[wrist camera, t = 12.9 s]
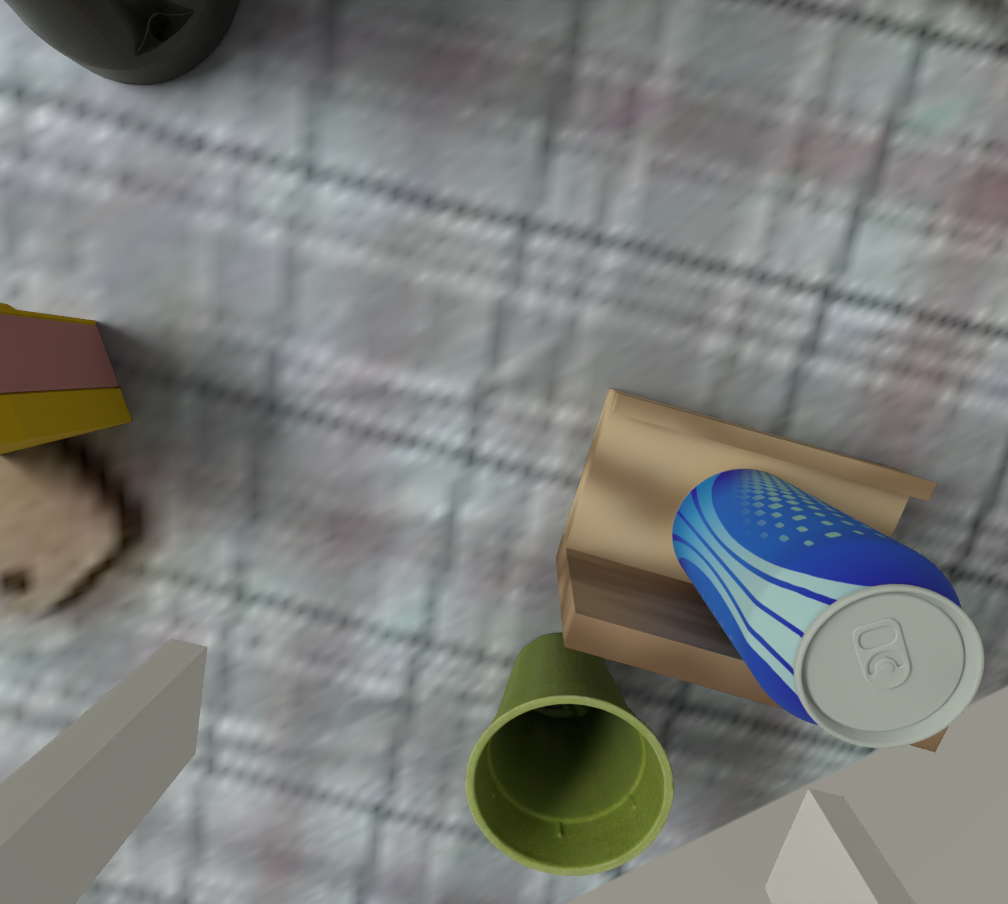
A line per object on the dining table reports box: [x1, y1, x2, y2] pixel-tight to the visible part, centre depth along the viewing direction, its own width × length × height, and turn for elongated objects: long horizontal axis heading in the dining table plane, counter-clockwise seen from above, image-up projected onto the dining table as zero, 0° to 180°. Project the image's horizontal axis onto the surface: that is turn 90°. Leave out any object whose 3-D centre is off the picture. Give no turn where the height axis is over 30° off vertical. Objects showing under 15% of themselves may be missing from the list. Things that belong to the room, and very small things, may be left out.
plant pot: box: [466, 633, 674, 876], centre depth 36 cm, size 12×12×11 cm
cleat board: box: [556, 388, 948, 752], centre depth 32 cm, size 13×20×12 cm, turn 75°
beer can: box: [672, 469, 984, 748], centre depth 27 cm, size 8×8×16 cm
